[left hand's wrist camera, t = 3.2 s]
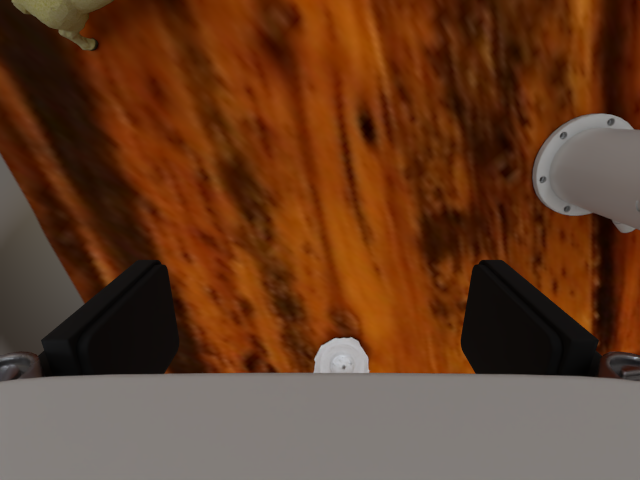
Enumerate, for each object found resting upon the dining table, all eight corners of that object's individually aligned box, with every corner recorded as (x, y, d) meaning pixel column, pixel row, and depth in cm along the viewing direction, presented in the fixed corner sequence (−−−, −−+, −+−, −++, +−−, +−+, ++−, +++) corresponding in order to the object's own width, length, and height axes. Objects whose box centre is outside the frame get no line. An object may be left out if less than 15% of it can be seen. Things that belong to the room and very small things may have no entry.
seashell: (334, 345, 59) (307, 386, 54) (331, 327, 55) (303, 369, 51) (377, 367, 55) (353, 413, 51) (378, 350, 52) (352, 397, 47)
